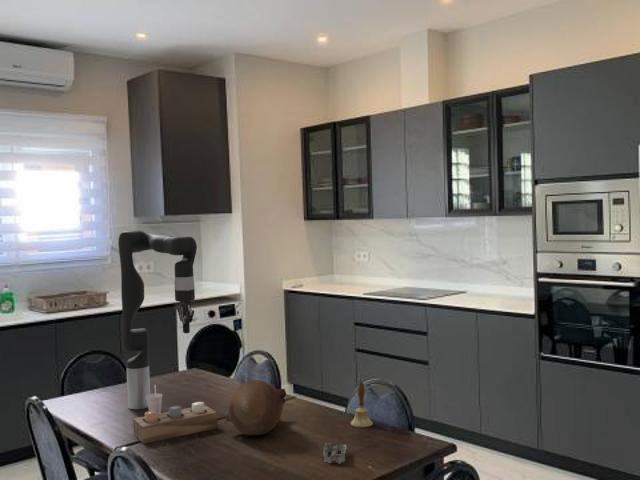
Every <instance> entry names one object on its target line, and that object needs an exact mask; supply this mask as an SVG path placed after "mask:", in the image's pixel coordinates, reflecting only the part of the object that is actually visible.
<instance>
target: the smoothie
mask: <svg viewBox="0 0 640 480" xmlns="http://www.w3.org/2000/svg"><path fill="white" fill-rule="evenodd" d="M153 386H154V393H150V394H149V395H147V396H146V399H147V403H148V407H147V409H148V411H158V414H160V413H162V412H161V411H162V399H163V394H162V393H157V384H154V385H153Z"/></svg>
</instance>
